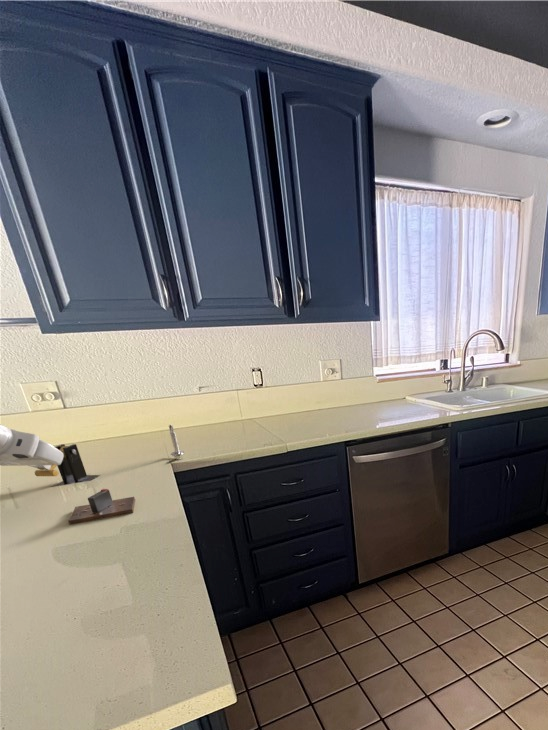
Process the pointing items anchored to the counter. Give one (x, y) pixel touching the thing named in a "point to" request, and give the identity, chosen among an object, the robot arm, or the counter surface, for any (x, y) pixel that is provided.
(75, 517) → the lock plate
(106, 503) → the lock knob
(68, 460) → the handle bracket
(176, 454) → the screw
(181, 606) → the counter surface
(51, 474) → the lever
